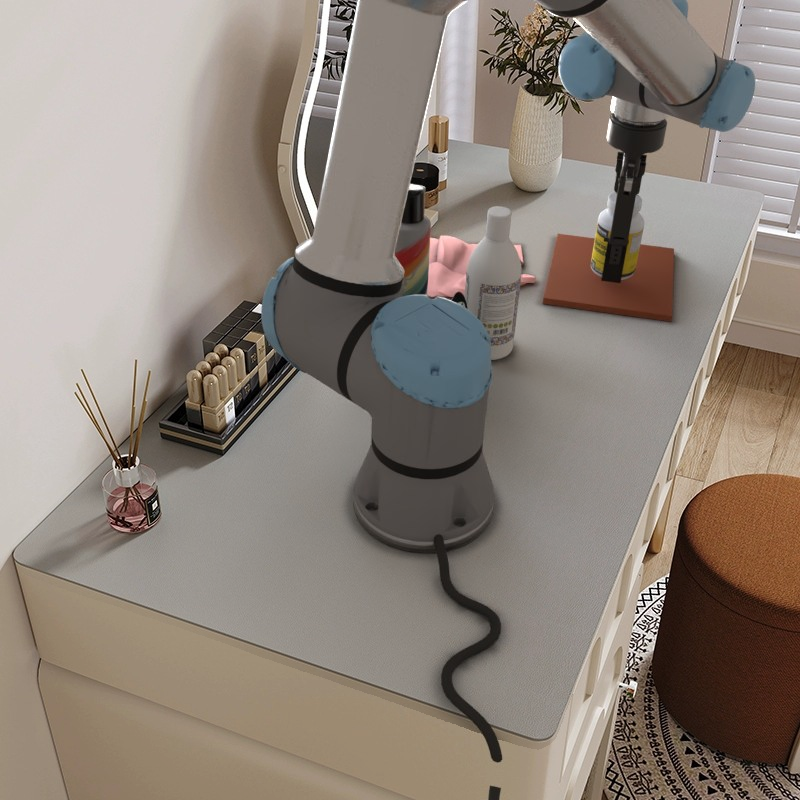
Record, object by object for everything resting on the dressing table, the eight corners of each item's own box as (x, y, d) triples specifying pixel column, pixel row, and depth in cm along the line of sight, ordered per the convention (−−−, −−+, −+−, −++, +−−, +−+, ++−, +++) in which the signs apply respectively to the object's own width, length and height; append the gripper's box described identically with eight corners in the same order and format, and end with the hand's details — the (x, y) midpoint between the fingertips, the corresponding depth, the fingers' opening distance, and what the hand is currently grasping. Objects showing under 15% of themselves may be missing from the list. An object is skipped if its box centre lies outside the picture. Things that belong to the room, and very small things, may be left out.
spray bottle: (379, 325, 141) (381, 190, 128) (392, 304, 145) (396, 172, 133) (418, 333, 139) (424, 198, 127) (431, 312, 143) (438, 180, 131)
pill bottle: (581, 265, 151) (592, 192, 144) (616, 256, 153) (629, 184, 146) (607, 286, 146) (620, 212, 139) (644, 276, 149) (658, 203, 142)
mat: (671, 321, 143) (672, 315, 143) (542, 303, 146) (543, 297, 146) (673, 254, 159) (674, 248, 158) (556, 238, 162) (557, 233, 161)
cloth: (370, 278, 151) (370, 263, 149) (447, 222, 165) (448, 208, 164) (491, 322, 142) (492, 307, 140) (561, 259, 157) (563, 245, 155)
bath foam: (523, 350, 137) (540, 214, 125) (485, 368, 133) (498, 229, 121) (488, 327, 141) (500, 193, 129) (450, 344, 137) (459, 208, 125)
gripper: (666, 148, 127) (635, 306, 141) (669, 92, 142) (641, 240, 156) (605, 141, 128) (581, 298, 142) (614, 87, 144) (591, 234, 158)
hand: (612, 268), depth 149 cm, fingers closed on pill bottle, 6 cm apart
